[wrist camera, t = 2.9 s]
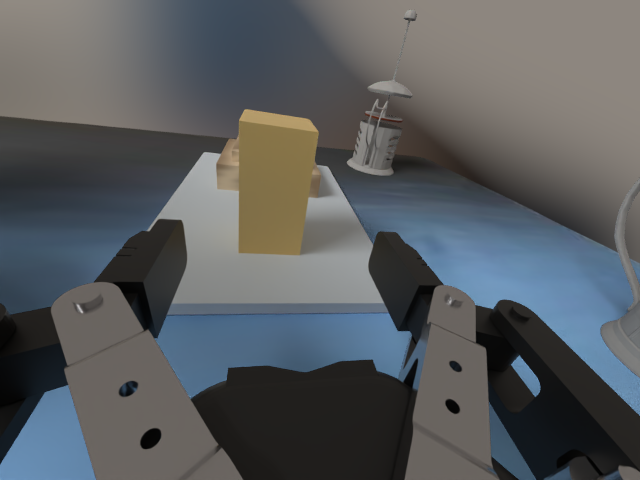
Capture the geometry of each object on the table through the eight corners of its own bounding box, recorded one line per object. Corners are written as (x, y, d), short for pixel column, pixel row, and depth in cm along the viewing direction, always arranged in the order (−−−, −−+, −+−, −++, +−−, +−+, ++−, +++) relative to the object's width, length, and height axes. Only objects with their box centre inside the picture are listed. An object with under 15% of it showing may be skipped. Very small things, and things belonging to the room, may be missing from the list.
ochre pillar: (238, 253, 21) (239, 120, 16) (243, 222, 26) (244, 109, 20) (299, 255, 23) (318, 132, 17) (294, 225, 27) (309, 119, 22)
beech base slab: (217, 189, 31) (215, 152, 29) (229, 158, 41) (229, 130, 39) (317, 198, 34) (323, 165, 31) (306, 167, 44) (309, 141, 41)
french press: (397, 168, 57) (445, 21, 44) (386, 181, 48) (442, -1, 35) (355, 156, 60) (388, 14, 47) (336, 166, 50) (371, -7, 37)
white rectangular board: (98, 315, 16) (93, 303, 15) (204, 158, 42) (204, 152, 42) (402, 312, 20) (406, 303, 20) (326, 172, 47) (327, 166, 46)
